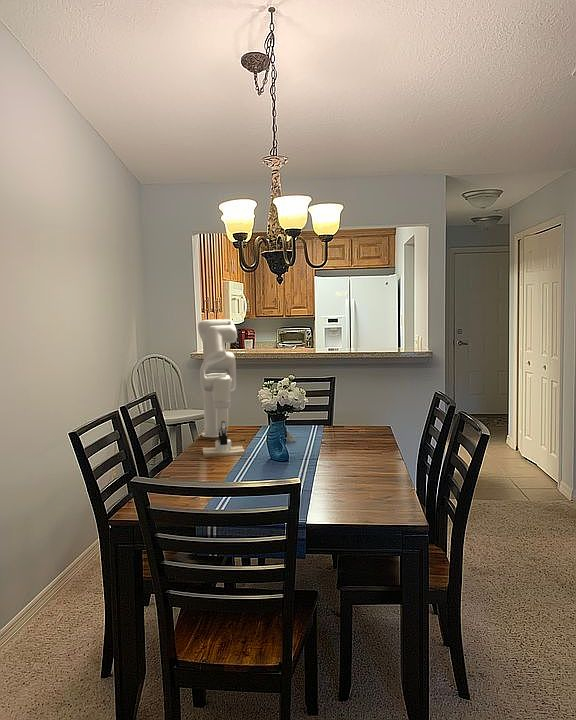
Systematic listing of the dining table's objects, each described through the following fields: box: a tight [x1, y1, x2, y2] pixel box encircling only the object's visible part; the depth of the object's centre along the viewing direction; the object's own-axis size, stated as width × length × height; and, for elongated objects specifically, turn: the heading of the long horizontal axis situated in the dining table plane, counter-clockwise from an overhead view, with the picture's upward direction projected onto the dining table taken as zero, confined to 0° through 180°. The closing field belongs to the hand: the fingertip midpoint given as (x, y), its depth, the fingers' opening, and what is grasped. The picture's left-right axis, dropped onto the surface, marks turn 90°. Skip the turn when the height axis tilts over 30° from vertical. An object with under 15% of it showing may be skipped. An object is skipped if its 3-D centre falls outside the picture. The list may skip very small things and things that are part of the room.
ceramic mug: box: [287, 429, 297, 442], centre depth 314 cm, size 11×8×8 cm
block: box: [202, 445, 246, 458], centre depth 293 cm, size 12×18×2 cm, turn 99°
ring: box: [214, 438, 232, 452], centre depth 293 cm, size 7×7×4 cm
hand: (223, 442), depth 293 cm, fingers open, 9 cm apart
